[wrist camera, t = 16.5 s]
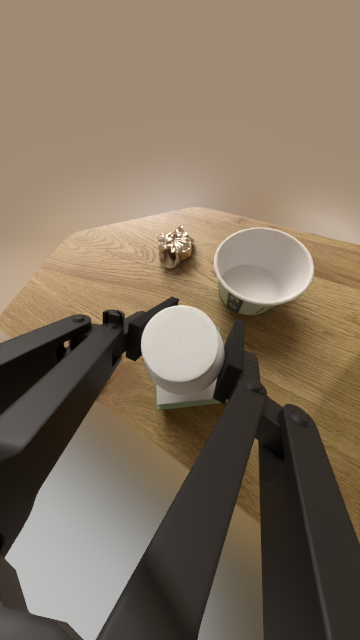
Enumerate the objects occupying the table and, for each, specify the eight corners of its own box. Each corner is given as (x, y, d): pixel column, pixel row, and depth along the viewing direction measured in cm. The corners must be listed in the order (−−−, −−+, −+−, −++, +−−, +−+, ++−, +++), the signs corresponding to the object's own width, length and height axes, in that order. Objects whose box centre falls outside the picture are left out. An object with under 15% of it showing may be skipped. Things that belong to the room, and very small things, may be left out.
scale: (229, 399, 21) (236, 402, 18) (161, 406, 22) (154, 411, 18) (216, 333, 24) (219, 325, 21) (158, 341, 25) (151, 334, 21)
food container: (239, 249, 30) (250, 214, 24) (302, 285, 26) (334, 255, 20) (195, 293, 27) (194, 267, 21) (257, 339, 24) (278, 325, 17)
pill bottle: (153, 371, 17) (105, 360, 8) (179, 329, 19) (163, 279, 9) (198, 401, 16) (200, 428, 7) (223, 353, 17) (253, 321, 8)
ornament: (171, 232, 33) (168, 215, 29) (201, 244, 31) (202, 227, 28) (148, 260, 31) (142, 245, 27) (179, 275, 29) (176, 261, 25)
